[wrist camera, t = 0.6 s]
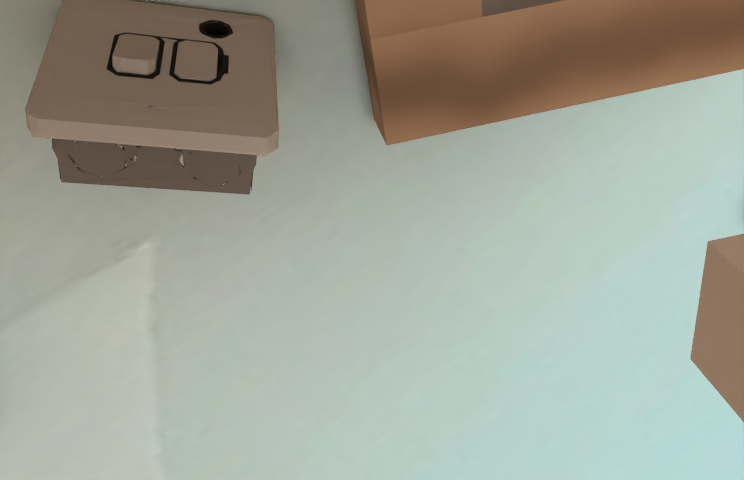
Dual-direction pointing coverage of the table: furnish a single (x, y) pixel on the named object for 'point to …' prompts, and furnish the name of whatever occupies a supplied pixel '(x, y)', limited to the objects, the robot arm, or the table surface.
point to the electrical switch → (157, 95)
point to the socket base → (532, 55)
